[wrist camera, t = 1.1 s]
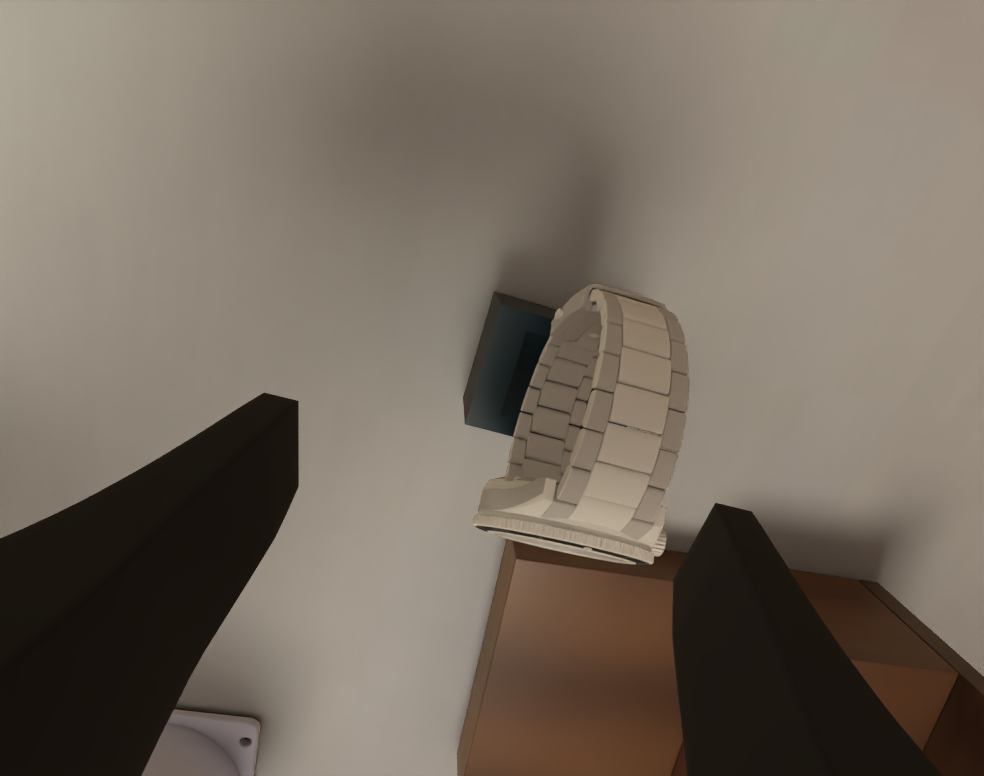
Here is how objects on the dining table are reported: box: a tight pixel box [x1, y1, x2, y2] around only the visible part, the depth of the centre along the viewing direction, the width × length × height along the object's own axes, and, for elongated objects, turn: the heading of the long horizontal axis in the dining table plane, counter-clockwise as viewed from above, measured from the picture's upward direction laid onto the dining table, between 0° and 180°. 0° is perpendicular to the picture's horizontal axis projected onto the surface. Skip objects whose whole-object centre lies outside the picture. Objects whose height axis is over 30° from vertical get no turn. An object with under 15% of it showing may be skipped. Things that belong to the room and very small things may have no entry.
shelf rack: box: [457, 539, 984, 776], centre depth 24 cm, size 12×17×10 cm
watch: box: [463, 284, 689, 565], centre depth 20 cm, size 6×8×11 cm
